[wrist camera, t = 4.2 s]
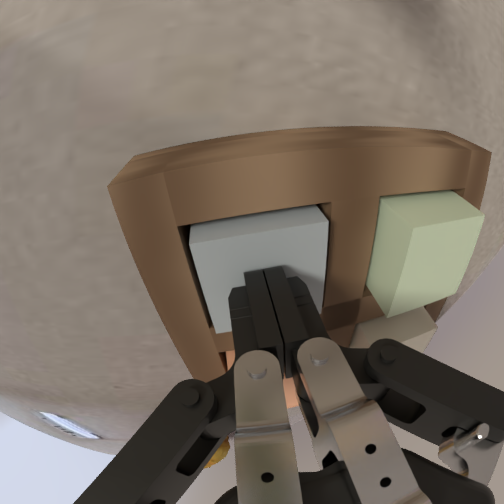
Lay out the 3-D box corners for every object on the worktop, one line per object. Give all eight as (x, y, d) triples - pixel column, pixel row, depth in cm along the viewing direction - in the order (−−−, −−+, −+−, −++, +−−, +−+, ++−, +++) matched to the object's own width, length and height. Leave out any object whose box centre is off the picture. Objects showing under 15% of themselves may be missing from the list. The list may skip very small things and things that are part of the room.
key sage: (447, 187, 11) (485, 214, 9) (428, 261, 14) (455, 293, 12) (374, 194, 11) (413, 228, 9) (361, 278, 14) (386, 318, 12)
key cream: (415, 296, 16) (438, 327, 14) (397, 339, 19) (413, 367, 17) (353, 314, 16) (373, 352, 13) (342, 357, 19) (356, 389, 16)
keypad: (445, 131, 13) (491, 152, 9) (397, 323, 23) (416, 355, 20) (134, 156, 12) (107, 186, 8) (209, 367, 22) (212, 408, 19)
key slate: (303, 189, 12) (328, 221, 10) (303, 274, 15) (321, 313, 13) (192, 206, 12) (189, 244, 9) (213, 290, 15) (216, 333, 12)
